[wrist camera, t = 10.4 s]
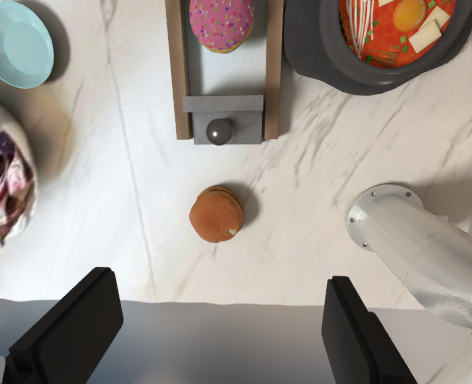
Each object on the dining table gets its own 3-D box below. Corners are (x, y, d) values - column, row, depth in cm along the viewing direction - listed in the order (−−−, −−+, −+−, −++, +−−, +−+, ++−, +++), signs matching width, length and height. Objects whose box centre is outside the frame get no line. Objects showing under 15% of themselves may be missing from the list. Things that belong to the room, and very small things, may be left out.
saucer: (58, 9, 36) (46, 2, 34) (68, 92, 40) (58, 91, 38) (-15, 3, 37) (-32, -3, 35) (2, 86, 41) (-13, 85, 38)
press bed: (283, -46, 32) (290, -84, 26) (276, 137, 39) (280, 141, 33) (167, -38, 33) (147, -73, 27) (181, 138, 41) (168, 142, 35)
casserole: (280, 101, 38) (286, 98, 30) (279, -46, 32) (288, -98, 24) (450, 90, 36) (506, 83, 28) (482, -70, 30) (564, -137, 22)
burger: (201, 179, 43) (195, 186, 38) (251, 194, 43) (250, 204, 39) (188, 226, 46) (181, 238, 42) (235, 240, 46) (232, 254, 42)
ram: (262, 98, 38) (264, 92, 28) (261, 143, 40) (263, 152, 30) (193, 99, 38) (171, 93, 29) (195, 143, 40) (177, 152, 31)
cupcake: (187, 10, 35) (154, -41, 24) (240, -21, 33) (232, -92, 22) (212, 69, 37) (193, 49, 26) (263, 43, 35) (267, 9, 24)
